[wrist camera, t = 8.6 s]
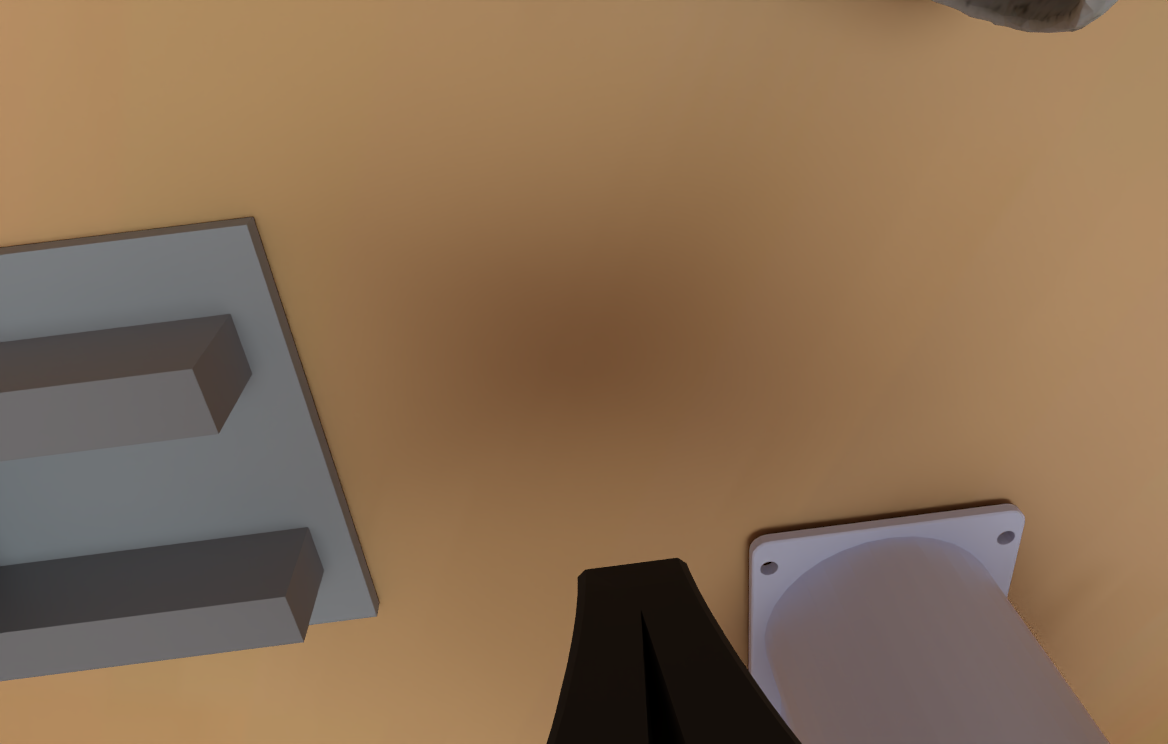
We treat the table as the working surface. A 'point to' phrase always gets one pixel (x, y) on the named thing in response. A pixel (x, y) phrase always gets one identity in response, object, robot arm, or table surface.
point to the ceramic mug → (1034, 13)
